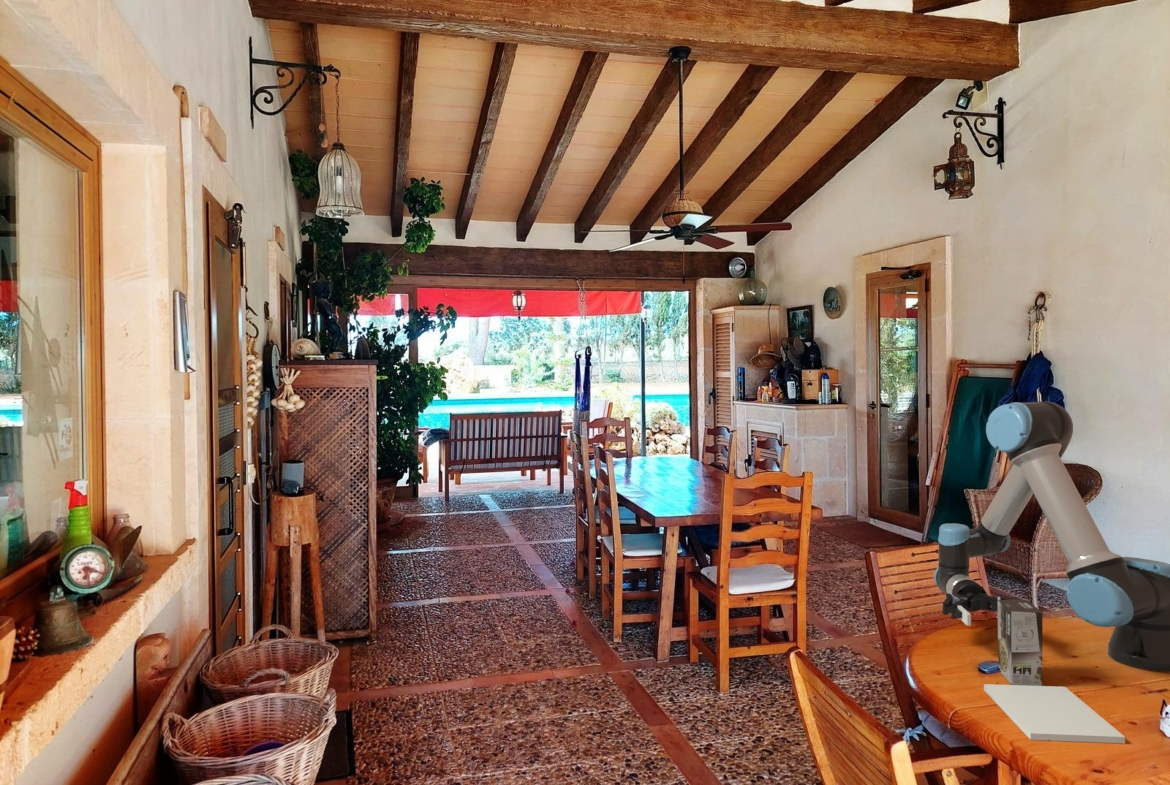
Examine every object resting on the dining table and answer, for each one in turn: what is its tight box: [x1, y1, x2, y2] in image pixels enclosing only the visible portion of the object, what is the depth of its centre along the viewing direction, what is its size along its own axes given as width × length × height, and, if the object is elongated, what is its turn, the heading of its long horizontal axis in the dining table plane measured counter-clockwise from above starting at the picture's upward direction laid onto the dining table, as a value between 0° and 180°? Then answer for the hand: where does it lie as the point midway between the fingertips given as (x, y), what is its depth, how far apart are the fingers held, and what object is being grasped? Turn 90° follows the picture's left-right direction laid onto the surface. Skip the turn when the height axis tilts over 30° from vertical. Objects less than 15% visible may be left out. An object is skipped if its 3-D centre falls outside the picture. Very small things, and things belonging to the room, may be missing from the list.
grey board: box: [983, 683, 1126, 745], centre depth 150 cm, size 16×22×1 cm
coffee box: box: [997, 599, 1044, 686], centre depth 168 cm, size 9×6×16 cm
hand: (1000, 621), depth 178 cm, fingers open, 13 cm apart
